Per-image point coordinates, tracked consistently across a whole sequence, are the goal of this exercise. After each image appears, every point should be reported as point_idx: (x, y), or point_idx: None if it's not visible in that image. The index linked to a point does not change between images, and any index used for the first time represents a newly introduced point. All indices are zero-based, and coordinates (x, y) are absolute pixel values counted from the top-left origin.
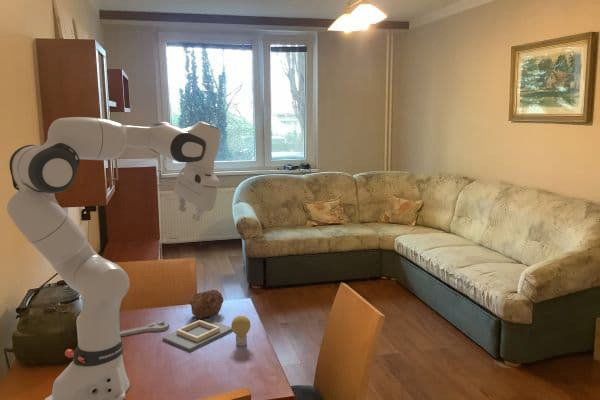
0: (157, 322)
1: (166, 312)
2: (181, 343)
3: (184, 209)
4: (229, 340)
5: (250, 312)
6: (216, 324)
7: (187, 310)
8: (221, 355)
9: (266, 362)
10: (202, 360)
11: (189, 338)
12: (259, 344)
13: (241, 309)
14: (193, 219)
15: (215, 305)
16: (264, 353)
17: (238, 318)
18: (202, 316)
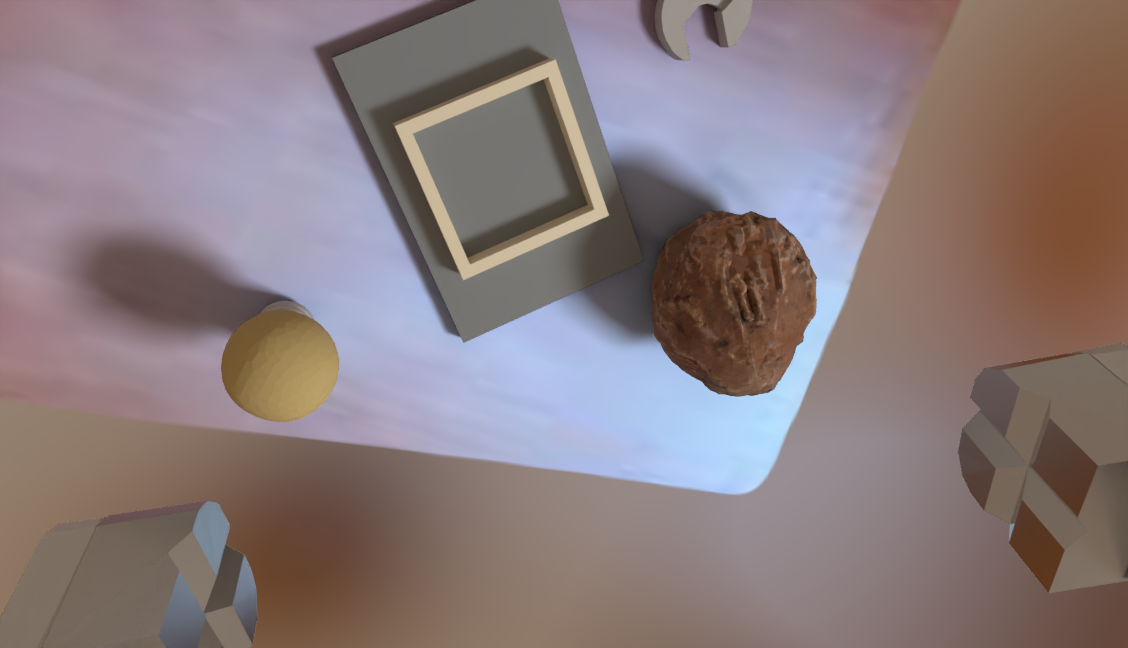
0: (739, 9)
1: (850, 107)
2: (418, 39)
3: (1008, 491)
4: (360, 286)
5: (610, 471)
6: (547, 283)
7: (808, 212)
8: (206, 193)
9: (23, 367)
10: (192, 82)
11: (451, 99)
12: None
13: (665, 445)
14: (146, 511)
15: (659, 331)
16: (131, 390)
17: (266, 368)
18: (664, 248)
